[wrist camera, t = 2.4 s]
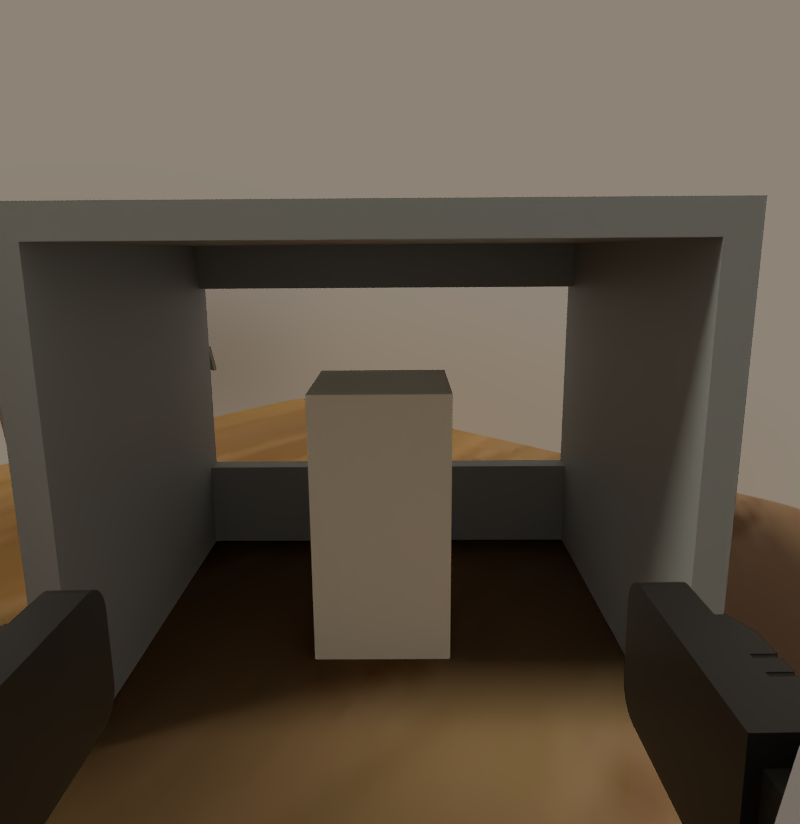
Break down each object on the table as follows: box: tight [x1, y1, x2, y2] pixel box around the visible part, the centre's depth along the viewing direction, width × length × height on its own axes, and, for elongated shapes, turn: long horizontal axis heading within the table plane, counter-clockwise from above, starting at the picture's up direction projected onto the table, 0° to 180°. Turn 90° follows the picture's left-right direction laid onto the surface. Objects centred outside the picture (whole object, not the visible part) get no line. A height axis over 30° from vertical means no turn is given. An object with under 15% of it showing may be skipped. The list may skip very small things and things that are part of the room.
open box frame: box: [0, 195, 767, 699], centre depth 28 cm, size 20×17×16 cm
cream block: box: [305, 370, 453, 659], centre depth 28 cm, size 5×5×10 cm
